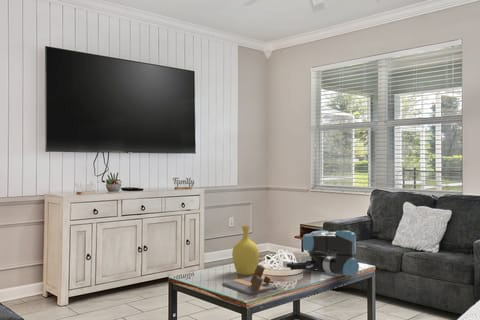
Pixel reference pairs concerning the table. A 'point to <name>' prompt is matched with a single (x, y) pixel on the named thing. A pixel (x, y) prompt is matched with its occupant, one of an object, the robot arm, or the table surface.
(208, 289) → the table surface
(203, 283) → the table surface
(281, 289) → the table surface
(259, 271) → the wooden block set
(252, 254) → the vase
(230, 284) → the board
